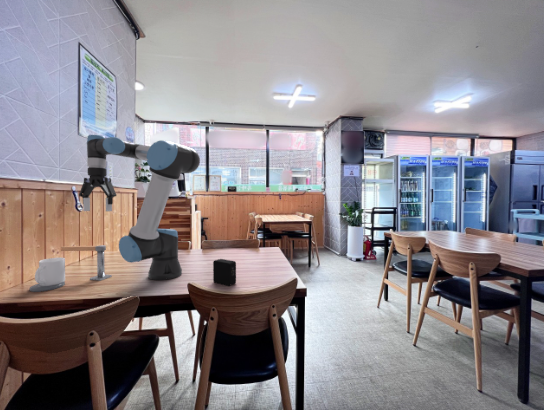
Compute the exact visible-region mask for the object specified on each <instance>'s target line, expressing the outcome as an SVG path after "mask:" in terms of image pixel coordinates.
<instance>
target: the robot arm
mask: <svg viewBox="0 0 544 410" xmlns="http://www.w3.org/2000/svg"><path fill="white" fill-rule="evenodd" d="M86 140H87V141H86V150H87V151H86V155H87V158H86V159H87V161H86V162H87V163H86V164H87V165H86V166H87V175H88V176H89V177H84V178H83V183H82V185H81V188H80V190H79V191H80V192H79V193H78V197H81V198H82V204H83V206H82V208H83V212H91V198H90V196H91V194H92V192H93V191H94V189H96V188H100V189H101V191H102V192H103V193H104V194H105V212H113V204H114V203H113V201H114V200H113V198H115V197H117V192H116V190H115V188H114V186H113V183H112V179H111V177H109V176H107V174H108V173H107V169H106V168H107V155H109V156H110V155H112V156H119V157H124V158H130V159H136V160H141V161H146V162H147V165H148V166H149V172H150V174H151V177H150V181H149V182H148V186H147V190H146V193H145V195H144V198H143V203H142V205H141V208H140V211H139V214H138V217H137V220H136V223H135V225H134V226H132V227H130V228H129V231H128V235H124V236H122V237H120V239H119V241H118V250H119V253H120V256H121V257H122V259H124V261H126V262H127V263H130V264H131V263H136V262H137V263H140V262H141V261H144V260H149V259H151V264H150V267H149V270H148V272H147V273H148V274H147V275H148V276H147V278H148V279H150V280H152V281H153V280H154V281H164V280H165V281H166V280H171V279H175V278H178V277H180V276H181V275H182V274H183V271H182V270H183V269H182V267H181V263H180V261H179V236H178V231H177V230H176V229H174V228H173V229H172V228H159V225H160V222H161V220H162V217H163V213H164V212H165V207H166V205H167V202H168V200H169V196H170V194H171V191H172V188H173V185H174V183H175V181H178V180H179V179H180V176H181V174H191V173H194V172H195V171H196V170H197V169H198V168H199V166H200V161H201V159H200V155H199V153H198V152H197V151H196V150H195V149H193V148H192V147H189V146H186V145H182V144H179V143H176V142H172V141H170V140H169V141H168V140H157V141H156V142H153V143H152V144H150V145H146V144H145V145H144V144H140V143H139V144H137V143H133V142H129V141H125V140H122V139H121V138H120V137H117V136H109V137H106V136H103V135H100V134H99V135H98V134H89V135H87V138H86Z"/></svg>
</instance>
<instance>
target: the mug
mask: <svg viewBox="0 0 544 410" xmlns="http://www.w3.org/2000/svg"><path fill="white" fill-rule="evenodd" d="M34 280H35V282H36V284H40V285H41V286H53V285H58V284H61V283H63V282H64V281H65V282H66V258H65V257H51V258H44V259H41V260H39V262H38V268H37V269H36V271H35V273H34Z"/></svg>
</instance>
